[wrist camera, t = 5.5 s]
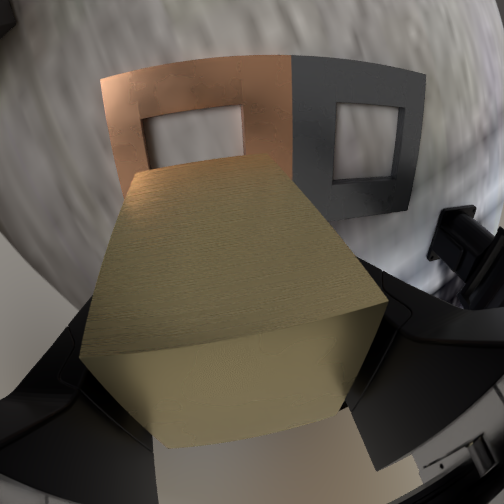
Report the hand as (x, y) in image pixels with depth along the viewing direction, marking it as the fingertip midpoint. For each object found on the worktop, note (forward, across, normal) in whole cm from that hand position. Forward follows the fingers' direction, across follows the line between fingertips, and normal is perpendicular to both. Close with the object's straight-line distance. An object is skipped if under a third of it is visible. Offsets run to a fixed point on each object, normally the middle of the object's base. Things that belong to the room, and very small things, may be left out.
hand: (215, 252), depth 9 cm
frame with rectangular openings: (+11, -6, 0) cm, 12 cm away
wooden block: (+2, 0, 0) cm, 2 cm away
